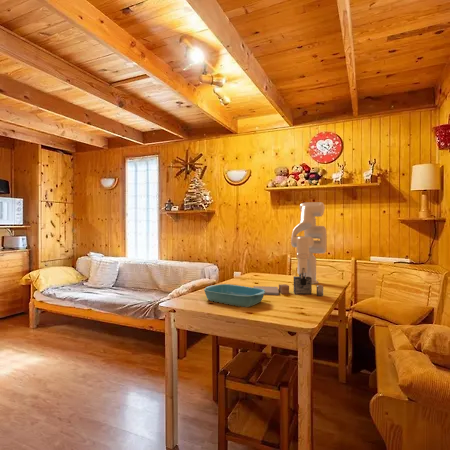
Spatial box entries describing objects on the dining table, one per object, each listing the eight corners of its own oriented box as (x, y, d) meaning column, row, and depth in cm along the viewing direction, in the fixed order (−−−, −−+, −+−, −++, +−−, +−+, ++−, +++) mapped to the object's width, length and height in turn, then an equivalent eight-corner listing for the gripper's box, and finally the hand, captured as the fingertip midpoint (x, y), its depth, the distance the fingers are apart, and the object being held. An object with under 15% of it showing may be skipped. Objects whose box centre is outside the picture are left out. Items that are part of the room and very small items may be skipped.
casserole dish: (196, 300, 178) (196, 288, 178) (219, 293, 197) (219, 282, 197) (252, 311, 157) (252, 297, 157) (272, 302, 175) (272, 289, 175)
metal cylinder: (316, 294, 194) (316, 285, 194) (322, 294, 194) (322, 285, 194) (317, 296, 190) (317, 286, 190) (323, 296, 190) (323, 286, 190)
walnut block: (278, 292, 200) (278, 284, 200) (286, 292, 201) (286, 284, 201) (281, 294, 195) (281, 286, 195) (289, 293, 196) (289, 285, 196)
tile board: (253, 288, 212) (253, 286, 212) (277, 289, 210) (277, 286, 210) (252, 294, 194) (252, 291, 194) (278, 295, 192) (278, 292, 192)
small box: (310, 292, 200) (310, 276, 200) (311, 295, 193) (312, 278, 193) (293, 292, 201) (293, 275, 201) (294, 294, 194) (294, 277, 194)
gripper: (295, 255, 206) (294, 281, 206) (298, 257, 189) (297, 285, 188) (306, 255, 205) (306, 281, 205) (310, 257, 188) (310, 286, 187)
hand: (302, 283), depth 196 cm, fingers open, 9 cm apart
